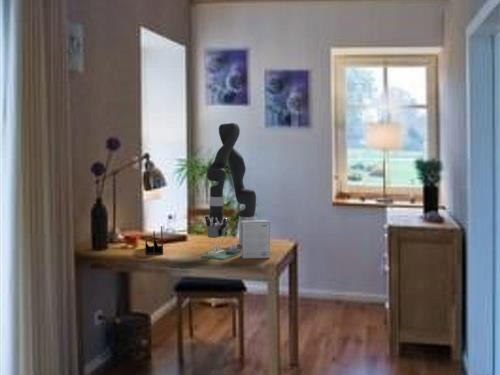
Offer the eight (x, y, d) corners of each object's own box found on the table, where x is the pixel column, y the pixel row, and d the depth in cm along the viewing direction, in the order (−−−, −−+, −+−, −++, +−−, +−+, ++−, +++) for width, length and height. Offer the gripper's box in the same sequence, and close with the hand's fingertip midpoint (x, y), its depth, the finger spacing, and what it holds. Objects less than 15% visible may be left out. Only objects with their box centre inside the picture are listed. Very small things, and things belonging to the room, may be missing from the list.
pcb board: (219, 251, 378) (219, 241, 378) (240, 253, 371) (240, 244, 371) (202, 257, 363) (202, 247, 362) (223, 259, 356) (223, 249, 355)
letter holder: (163, 247, 388) (162, 224, 386) (163, 255, 368) (163, 230, 367) (145, 248, 387) (145, 224, 385) (145, 255, 367) (144, 230, 366)
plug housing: (217, 234, 370) (217, 223, 370) (224, 235, 368) (224, 224, 368) (207, 237, 362) (207, 226, 361) (214, 238, 360) (214, 227, 359)
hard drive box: (269, 255, 368) (269, 220, 365) (270, 258, 360) (270, 222, 358) (241, 255, 367) (241, 220, 365) (241, 258, 359) (241, 222, 357)
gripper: (231, 204, 363) (230, 235, 365) (209, 203, 370) (209, 233, 372) (223, 206, 356) (223, 237, 358) (201, 204, 364) (201, 235, 365)
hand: (216, 235), depth 365 cm, fingers closed on plug housing, 4 cm apart
